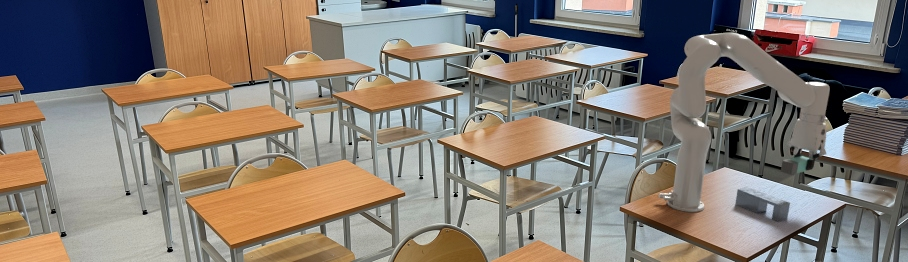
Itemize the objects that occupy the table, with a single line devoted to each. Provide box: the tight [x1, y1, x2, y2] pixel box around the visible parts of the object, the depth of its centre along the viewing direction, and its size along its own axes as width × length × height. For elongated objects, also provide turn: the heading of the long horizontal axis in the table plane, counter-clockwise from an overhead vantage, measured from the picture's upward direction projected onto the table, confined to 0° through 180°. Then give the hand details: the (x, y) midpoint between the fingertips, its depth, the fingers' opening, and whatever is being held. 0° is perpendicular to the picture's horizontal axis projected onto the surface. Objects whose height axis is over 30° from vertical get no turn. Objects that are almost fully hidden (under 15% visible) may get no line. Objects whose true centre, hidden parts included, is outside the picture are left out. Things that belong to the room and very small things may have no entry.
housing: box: [734, 186, 791, 223], centre depth 228 cm, size 5×17×6 cm, turn 30°
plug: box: [780, 155, 809, 176], centre depth 227 cm, size 11×4×4 cm, turn 120°
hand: (802, 167), depth 230 cm, fingers closed on plug, 4 cm apart
